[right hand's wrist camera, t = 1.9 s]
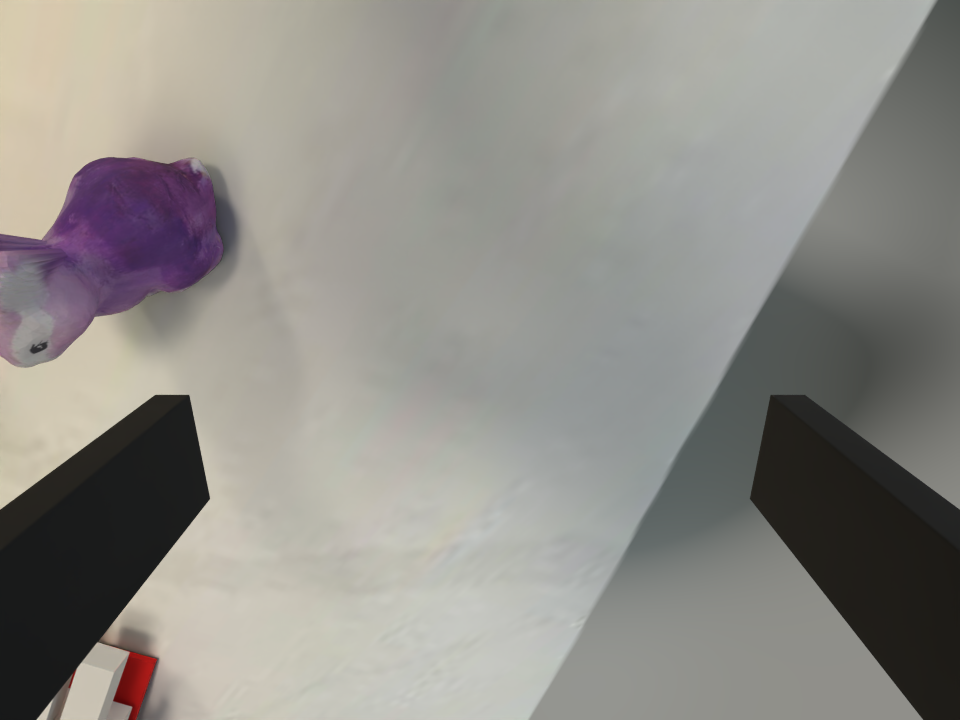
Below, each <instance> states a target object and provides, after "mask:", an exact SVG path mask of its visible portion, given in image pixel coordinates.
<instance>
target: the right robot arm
mask: <svg viewBox="0 0 960 720" xmlns="http://www.w3.org/2000/svg"><path fill="white" fill-rule="evenodd" d="M209 499H210V496H209V491H208V486H207V481H206V476H205V471H204V466H203V461H202V456H201V451H200V446H199V441H198V436H197V431H196V426H195V421H194V416H193V411H192V406H191V401H190V396H189V395H155V396H153V397H152V398H151V399H149V400H148V401H146V402H145V403H144V404H142V405H141V406H140V407H138V408H137V409H136V410H134V411H133V412H132V413H130V414H129V415H128V416H126V417H125V418H124V419H122V420H121V421H119V422H118V423H117V424H115V425H114V426H113V427H111V428H110V429H109V430H107V431H106V432H105V433H103V434H102V435H101V436H99V437H98V438H97V439H95V440H94V441H92V442H91V443H90V444H88V445H87V446H86V447H84V448H83V449H82V450H80V451H79V452H78V453H76V454H75V455H74V456H72V457H71V458H69V459H68V460H67V461H65V462H64V463H63V464H61V465H60V466H59V467H57V468H56V469H55V470H53V471H52V472H51V473H49V474H48V475H47V476H45V477H44V478H42V479H41V480H40V481H38V482H37V483H36V484H34V485H33V486H32V487H30V488H29V489H28V490H26V491H25V492H24V493H22V494H21V495H20V496H18V497H17V498H15V499H14V500H13V501H11V502H10V503H9V504H7V505H6V506H5V507H3V508H2V509H1V510H0V720H37V719H38V717H39V716H40V715H41V714H42V712H43V711H44V710H45V709H46V707H47V706H48V705H49V703H50V702H51V701H52V700H53V698H54V697H55V696H56V695H57V693H58V692H59V691H60V689H61V688H62V687H63V686H64V684H65V683H66V682H67V680H68V679H69V678H70V677H71V675H72V674H73V673H74V672H75V670H76V669H77V668H78V666H79V665H80V664H81V663H82V661H83V660H84V659H85V658H86V656H87V655H88V654H89V652H90V651H91V650H92V649H93V647H94V646H95V645H96V644H97V642H98V641H99V640H100V638H101V637H102V636H103V635H104V633H105V632H106V631H107V629H108V628H109V627H110V626H111V624H112V623H113V622H114V621H115V619H116V618H117V617H118V615H119V614H120V613H121V612H122V610H123V609H124V608H125V607H126V605H127V604H128V603H129V601H130V600H131V599H132V598H133V596H134V595H135V594H136V593H137V591H138V590H139V589H140V587H141V586H142V585H143V584H144V582H145V581H146V580H147V578H148V577H149V576H150V575H151V573H152V572H153V571H154V570H155V568H156V567H157V566H158V564H159V563H160V562H161V561H162V559H163V558H164V557H165V556H166V554H167V553H168V552H169V550H170V549H171V548H172V547H173V545H174V544H175V543H176V542H177V540H178V539H179V538H180V536H181V535H182V534H183V533H184V531H185V530H186V529H187V528H188V526H189V525H190V524H191V522H192V521H193V520H194V519H195V517H196V516H197V515H198V513H199V512H200V511H201V510H202V508H203V507H204V506H205V505H206V503H207V502H208V501H209ZM750 499H751V501H752V502H753V503H754V504H755V506H756V507H757V508H758V510H759V511H760V512H761V513H762V515H763V516H764V517H765V519H766V520H767V521H768V522H769V524H770V525H771V526H772V527H773V529H774V530H775V531H776V533H777V534H778V535H779V536H780V538H781V539H782V540H783V542H784V543H785V544H786V545H787V547H788V548H789V549H790V550H791V552H792V553H793V554H794V555H795V557H796V558H797V559H798V561H799V562H800V563H801V564H802V566H803V567H804V568H805V569H806V571H807V572H808V573H809V575H810V576H811V577H812V578H813V580H814V581H815V582H816V584H817V585H818V586H819V587H820V589H821V590H822V591H823V593H824V594H825V595H826V596H827V598H828V599H829V600H830V601H831V603H832V604H833V605H834V607H835V608H836V609H837V610H838V612H839V613H840V614H841V615H842V617H843V618H844V619H845V621H846V622H847V623H848V624H849V626H850V627H851V628H852V629H853V631H854V632H855V633H856V635H857V636H858V637H859V638H860V640H861V641H862V642H863V643H864V645H865V646H866V647H867V649H868V650H869V651H870V652H871V654H872V655H873V656H874V658H875V659H876V660H877V661H878V663H879V664H880V665H881V666H882V668H883V669H884V670H885V671H886V673H887V674H888V675H889V677H890V678H891V679H892V680H893V682H894V683H895V684H896V686H897V687H898V688H899V689H900V691H901V692H902V693H903V695H904V696H905V697H906V698H907V700H908V701H909V702H910V703H911V705H912V706H913V707H914V709H915V710H916V711H917V712H918V714H919V715H920V716H921V717H922V719H923V720H960V510H959V509H958V508H957V507H955V506H954V505H953V504H951V503H950V502H949V501H947V500H946V499H945V498H943V497H942V496H940V495H939V494H938V493H936V492H935V491H934V490H932V489H931V488H930V487H928V486H927V485H926V484H924V483H923V482H922V481H920V480H919V479H917V478H916V477H915V476H913V475H912V474H911V473H909V472H908V471H907V470H905V469H904V468H903V467H901V466H900V465H899V464H897V463H896V462H895V461H893V460H892V459H890V458H889V457H888V456H886V455H885V454H884V453H882V452H881V451H880V450H878V449H877V448H876V447H874V446H873V445H872V444H870V443H869V442H868V441H866V440H865V439H863V438H862V437H861V436H859V435H858V434H857V433H855V432H854V431H853V430H851V429H850V428H849V427H847V426H846V425H845V424H843V423H842V422H841V421H839V420H838V419H836V418H835V417H834V416H832V415H831V414H830V413H828V412H827V411H826V410H824V409H823V408H822V407H820V406H819V405H818V404H816V403H815V402H814V401H812V400H811V399H809V398H808V397H807V396H805V395H771V396H770V401H769V406H768V411H767V416H766V421H765V426H764V431H763V436H762V441H761V446H760V451H759V456H758V461H757V466H756V471H755V476H754V481H753V486H752V491H751V496H750Z"/></svg>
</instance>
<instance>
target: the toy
mask: <svg viewBox="0 0 960 720" xmlns="http://www.w3.org/2000/svg"><path fill="white" fill-rule="evenodd" d="M156 661H157V659H155V658H151V657H148V656H144V655H141V654H137V653H133V652H130V651H126V650H123V649H119V648H116V647H112V646H109V645H105V644H102V643H98V642H97V644H96V645H95V646H94V647H93V649H92V650H91V651H90V652H89V654H88V655H87V656H86V658H85V659H84V660H83V661H82V663H81V664H80V665H79V666H78V668H77V669H76V670H75V672H74V673H73V674H72V675H71V677H70V678H69V679H68V680H67V682H66V683H65V684H64V686H63V687H62V688H61V689H60V691H59V692H58V693H57V695H56V696H55V697H54V698H53V700H52V701H51V702H50V703H49V705H48V706H47V707H46V709H45V710H44V711H43V712H42V714H41V715H40V716H39V717H38V719H37V720H136V719H137V716H138V713H139V710H140V707H141V704H142V701H143V698H144V695H145V693H146V690H147V687H148V684H149V681H150V678H151V675H152V672H153V669H154V667H155V664H156Z"/></svg>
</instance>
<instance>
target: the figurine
mask: <svg viewBox="0 0 960 720" xmlns="http://www.w3.org/2000/svg"><path fill="white" fill-rule="evenodd" d="M223 251H224V249H223V243H222V240H221V237H220V235H219V233H218V232H217V228H216V205H215V199H214V192H213V185H212V181H211V178H210V176H209V174H208V172H207V170H206V168H205V167H204V165H203V164H202V163H201V161H200V160H198V159H196V158H186V159H182V160H179V161H177V162H174V163H170V164H164V163H159V162H154V161H148V160H145V159H140V158H135V157H132V158H115V157H108V158H101V159H98V160H95V161H92V162H90V163H88V164H87V165H85V166H84V167H83V168H82V169H81V170H80V171H79V172H78V173H77V174H75V176H74V177H73V179H72V181H71V184H70V186H69V189H68V192H67V196H66V199H65V203H64V205H63V207H62V210H61V212H60V214H59V216H58V218H57V220H56V221H55V223H54V224H53V226H52V227H51V229H50V230H49V231H48V232H47V234H46V235H45V236H44V238H43V239H42V240H38V239H31V238H24V237H17V236H11V235H4V234H0V356H1V357H3V358H4V359H6V360H7V361H8V362H9V363H11V364H12V365H14V366H16V367H24V368H26V367H32V366H35V365H37V364H40V363H44V362H49V361H52V360H54V359H56V358H57V357H59V356H60V355H61V354H62V353H63V352H64V351H65V350H66V349H67V348H68V347H69V346H70V345H71V344H72V343H73V342H74V341H75V340H76V339H77V338H78V337H79V336H80V335H81V334H83V333H84V331H85V330H86V329H87V328H88V326H89V325H90V324H91V322H92V321H93V319H94V317H96V316H104V315H111V314H116V313H120V312H123V311H126V310H129V309H130V308H132V307H134V306H135V305H137V304H138V303H140V302H141V301H142V300H143V299H144V298H145V297H146V296H151V295H153V294H155V293H158V292H160V291H164V292H172V293H175V292H182V291H184V290H186V289H187V288H189V287H190V286H192V285H193V284H195V283H196V282H198V281H199V280H200V279H201V278H203V277H204V276H205V275H207V274H208V273H209V272H210V271H211V270H212V269H214V268H215V266H216V265H217V264H218V263H219V262H220V261H221V258H222V255H223Z"/></svg>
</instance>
